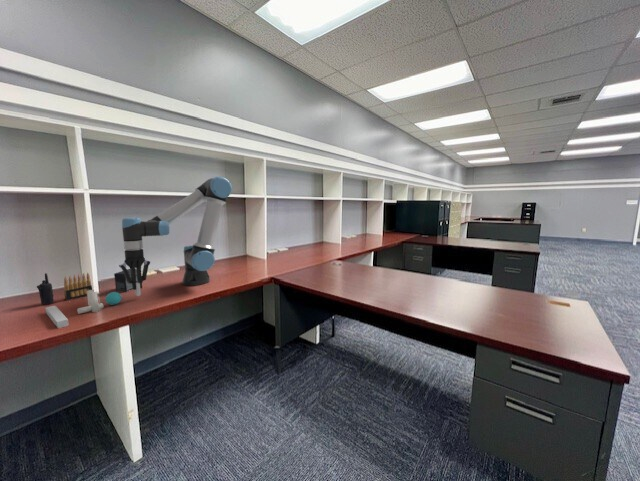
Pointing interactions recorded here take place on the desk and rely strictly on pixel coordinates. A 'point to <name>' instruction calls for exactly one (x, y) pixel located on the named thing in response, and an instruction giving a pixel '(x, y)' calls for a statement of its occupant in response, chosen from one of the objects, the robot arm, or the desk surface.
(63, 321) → the white rectangular eraser
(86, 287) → the ammunition clip
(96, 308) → the back left pin
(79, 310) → the front pin
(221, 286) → the desk surface
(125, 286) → the small box
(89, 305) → the back right pin
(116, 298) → the ball
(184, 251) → the robot arm
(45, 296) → the two-way radio
